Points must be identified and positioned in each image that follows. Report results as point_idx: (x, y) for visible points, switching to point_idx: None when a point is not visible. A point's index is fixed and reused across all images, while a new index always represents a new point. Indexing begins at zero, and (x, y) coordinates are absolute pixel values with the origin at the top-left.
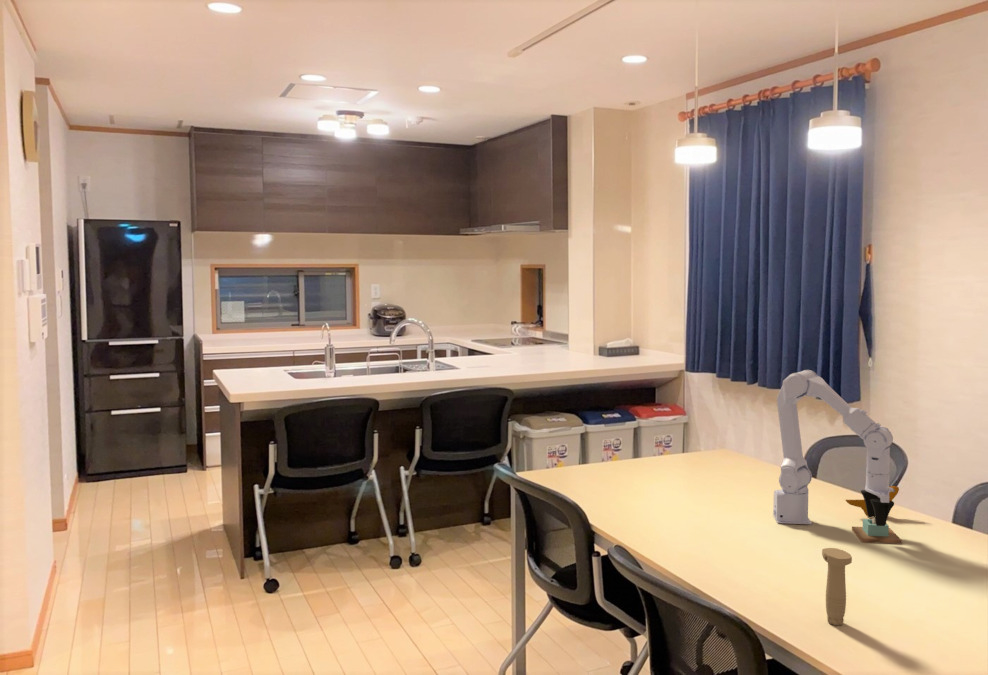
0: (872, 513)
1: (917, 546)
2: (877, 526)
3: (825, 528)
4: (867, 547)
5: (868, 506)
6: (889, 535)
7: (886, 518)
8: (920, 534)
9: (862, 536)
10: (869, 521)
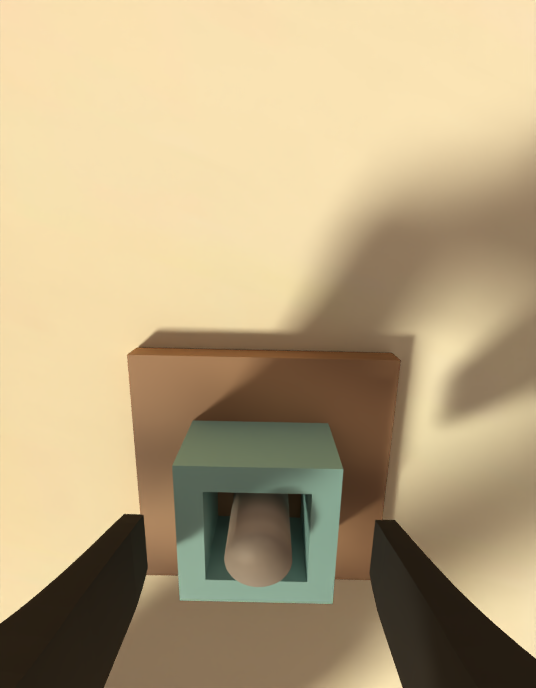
0: (134, 570)
1: (445, 263)
2: (335, 538)
3: (149, 664)
4: (456, 555)
5: (100, 673)
6: (304, 409)
7: (443, 578)
8: (166, 136)
9: (338, 568)
10: (206, 555)
